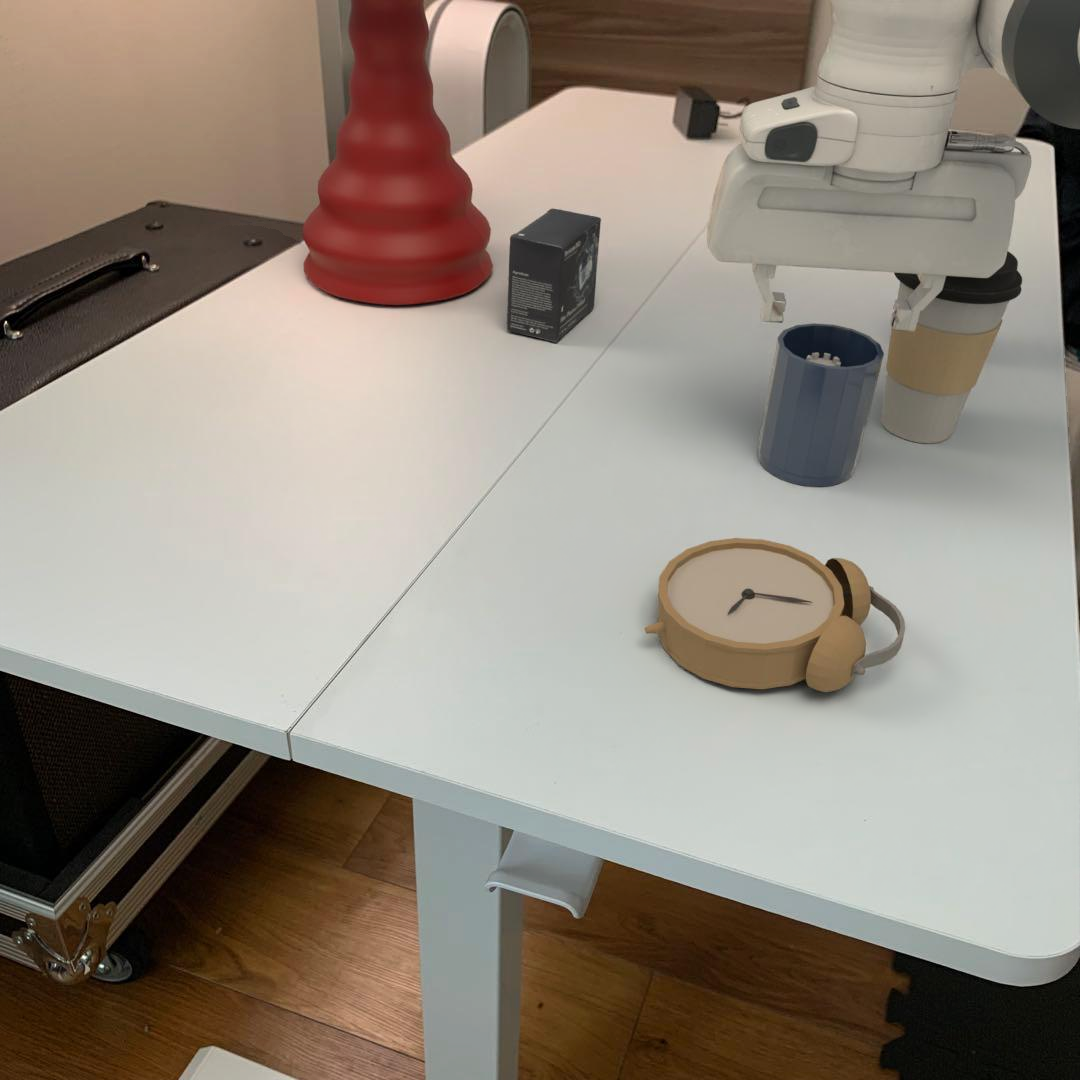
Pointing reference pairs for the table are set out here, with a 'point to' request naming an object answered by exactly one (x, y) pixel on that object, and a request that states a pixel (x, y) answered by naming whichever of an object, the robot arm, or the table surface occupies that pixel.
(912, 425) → the coffee cup
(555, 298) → the box
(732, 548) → the alarm clock
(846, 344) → the tumbler
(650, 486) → the table surface
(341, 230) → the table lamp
